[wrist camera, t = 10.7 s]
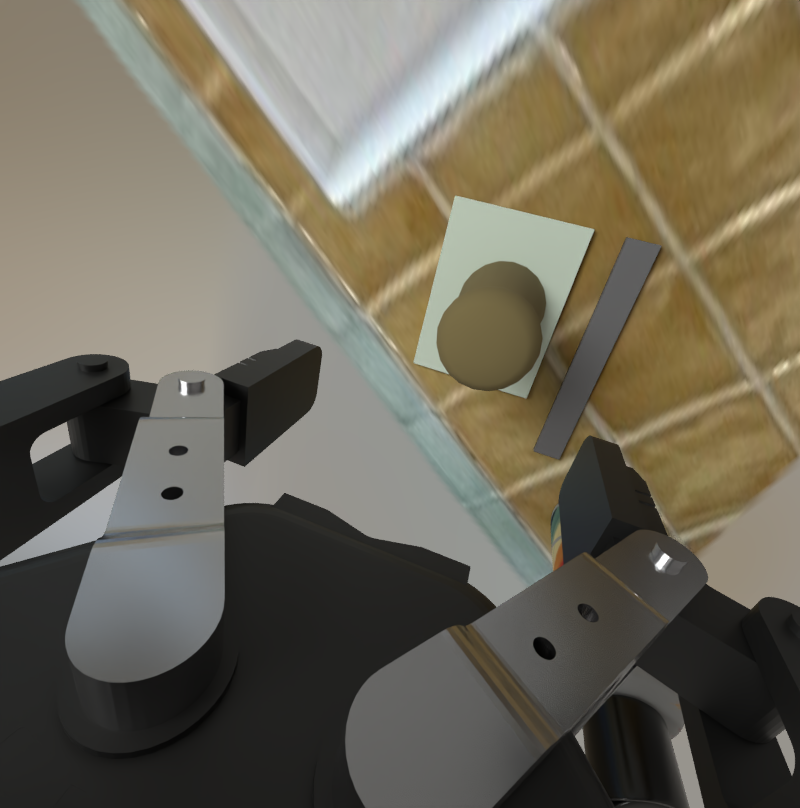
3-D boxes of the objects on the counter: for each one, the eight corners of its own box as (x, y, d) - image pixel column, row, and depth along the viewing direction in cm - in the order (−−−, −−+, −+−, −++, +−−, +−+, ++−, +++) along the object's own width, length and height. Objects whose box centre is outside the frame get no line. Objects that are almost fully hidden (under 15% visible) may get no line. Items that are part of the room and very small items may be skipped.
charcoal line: (626, 237, 26) (627, 237, 25) (659, 245, 25) (661, 245, 25) (533, 448, 33) (533, 451, 33) (558, 457, 33) (559, 459, 32)
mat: (456, 195, 27) (455, 195, 27) (593, 229, 26) (594, 229, 26) (414, 361, 33) (413, 362, 32) (526, 396, 31) (526, 398, 31)
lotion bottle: (537, 504, 35) (543, 793, 17) (606, 481, 32) (695, 793, 15) (568, 555, 36) (603, 876, 18) (637, 537, 33) (754, 889, 16)
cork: (565, 291, 27) (583, 329, 18) (511, 363, 30) (501, 430, 21) (488, 243, 28) (464, 255, 18) (441, 319, 31) (399, 365, 21)
